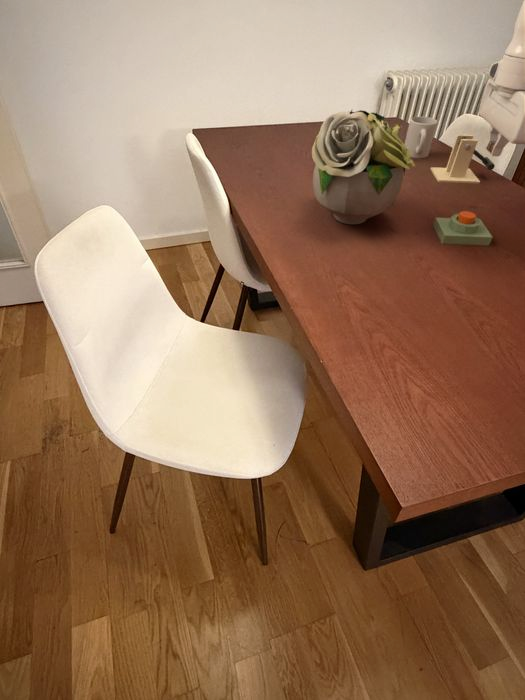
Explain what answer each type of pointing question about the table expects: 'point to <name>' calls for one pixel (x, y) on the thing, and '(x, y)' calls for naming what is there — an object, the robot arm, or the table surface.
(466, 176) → the beige bracket stand
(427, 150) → the mug
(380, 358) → the table surface
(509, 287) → the table surface
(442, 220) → the control block
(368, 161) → the flower arrangement
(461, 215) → the button
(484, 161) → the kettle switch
